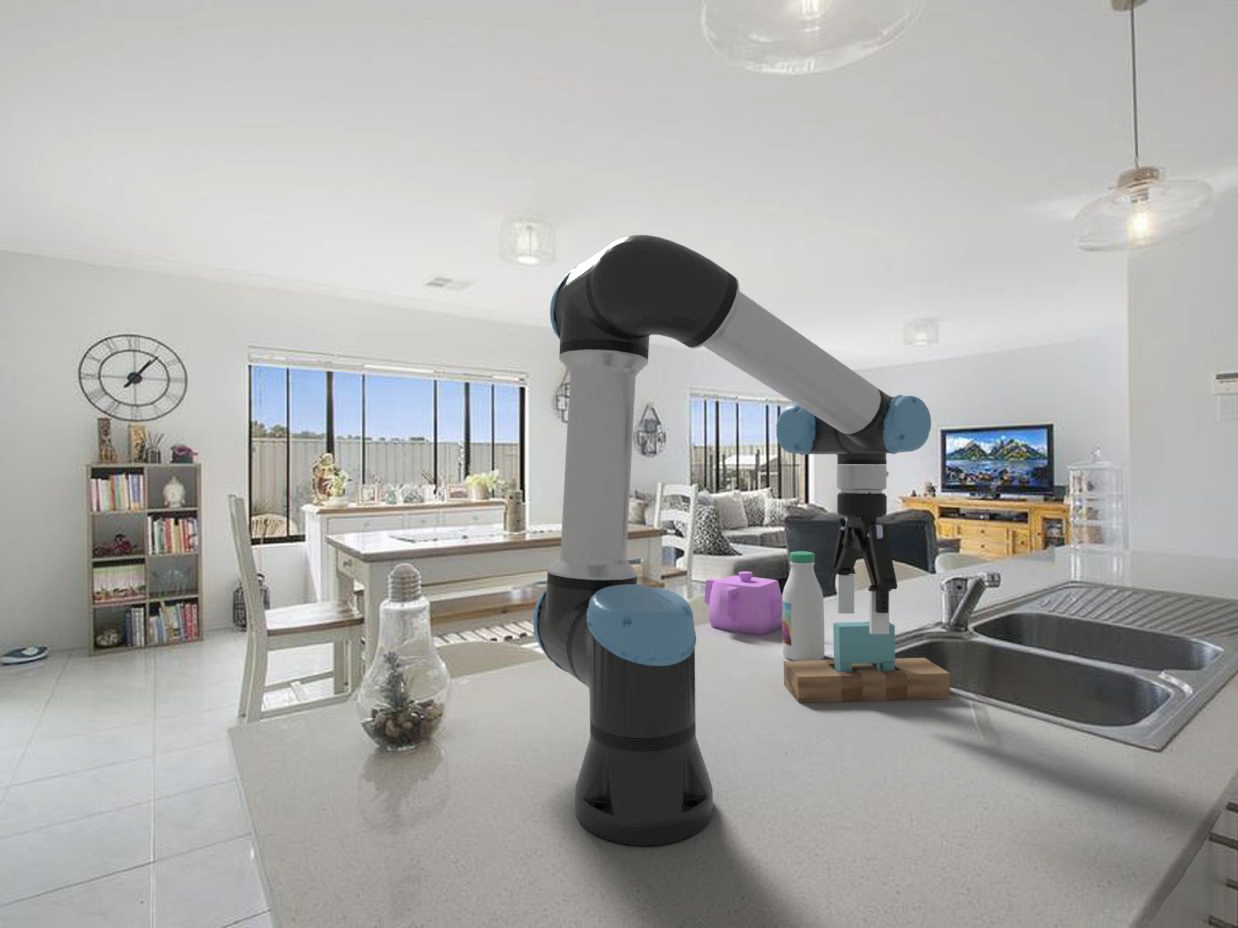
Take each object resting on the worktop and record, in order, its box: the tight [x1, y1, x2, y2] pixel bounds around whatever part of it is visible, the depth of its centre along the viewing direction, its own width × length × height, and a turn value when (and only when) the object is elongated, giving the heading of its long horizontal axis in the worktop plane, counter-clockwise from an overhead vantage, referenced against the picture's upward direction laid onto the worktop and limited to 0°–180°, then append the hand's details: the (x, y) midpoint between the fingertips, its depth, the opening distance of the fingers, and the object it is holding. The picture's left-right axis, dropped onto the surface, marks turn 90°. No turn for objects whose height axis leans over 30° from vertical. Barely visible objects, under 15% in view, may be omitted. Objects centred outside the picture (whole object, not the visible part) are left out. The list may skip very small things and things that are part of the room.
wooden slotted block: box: [783, 657, 951, 703], centre depth 106 cm, size 8×24×4 cm, turn 91°
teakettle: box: [703, 570, 783, 636], centre depth 148 cm, size 17×17×12 cm
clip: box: [832, 621, 896, 672], centre depth 106 cm, size 3×9×11 cm, turn 92°
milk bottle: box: [781, 550, 825, 661], centre depth 125 cm, size 8×8×20 cm
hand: (861, 622), depth 105 cm, fingers open, 13 cm apart
